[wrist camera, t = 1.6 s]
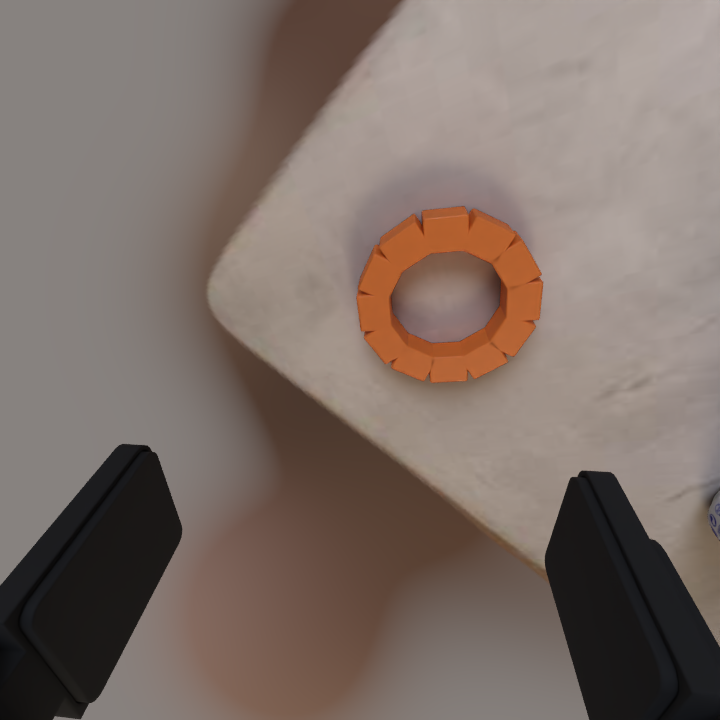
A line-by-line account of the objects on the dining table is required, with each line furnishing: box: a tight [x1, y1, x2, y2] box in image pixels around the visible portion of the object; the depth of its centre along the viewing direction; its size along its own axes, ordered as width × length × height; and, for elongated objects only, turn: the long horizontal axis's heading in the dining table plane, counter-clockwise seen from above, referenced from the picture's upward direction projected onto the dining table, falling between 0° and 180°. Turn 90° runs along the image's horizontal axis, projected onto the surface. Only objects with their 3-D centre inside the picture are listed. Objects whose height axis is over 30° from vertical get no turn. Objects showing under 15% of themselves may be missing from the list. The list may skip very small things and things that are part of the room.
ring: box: [356, 206, 543, 383], centre depth 19 cm, size 8×8×1 cm
